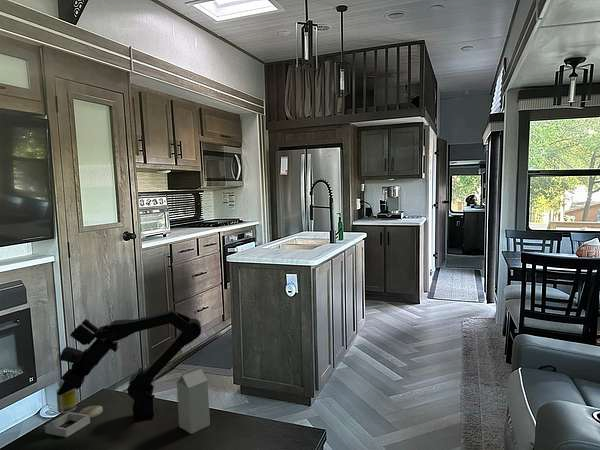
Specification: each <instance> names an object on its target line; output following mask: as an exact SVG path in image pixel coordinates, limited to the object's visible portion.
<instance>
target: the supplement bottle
mask: <svg viewBox="0 0 600 450" xmlns="http://www.w3.org/2000/svg"><path fill="white" fill-rule="evenodd" d="M63 383H64V380H62V379H61V380H59V381H58V383H57V385H58V388H57V389H56V390H55V391H56V403H57V412H58V413H59V414H67V413H68V412H73V411H74V410H76V409H77V396H76V395H77V393H76V389H75V388H74V389H72V390H70V391H68V392H66V393H64V394H62V395H58V394H57V393H58V391H59V390H60V388H61V386H62V385H63Z"/></svg>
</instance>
